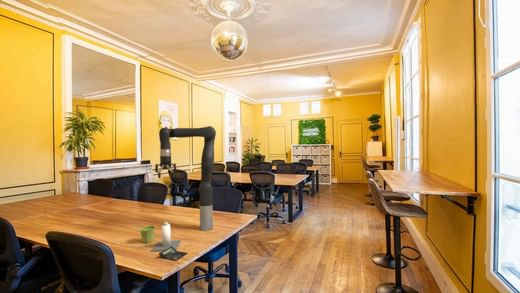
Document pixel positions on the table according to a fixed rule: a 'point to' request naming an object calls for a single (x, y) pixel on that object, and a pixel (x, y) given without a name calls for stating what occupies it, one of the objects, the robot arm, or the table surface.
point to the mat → (160, 248)
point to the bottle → (166, 234)
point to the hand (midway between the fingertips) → (166, 178)
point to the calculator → (172, 254)
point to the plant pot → (147, 233)
